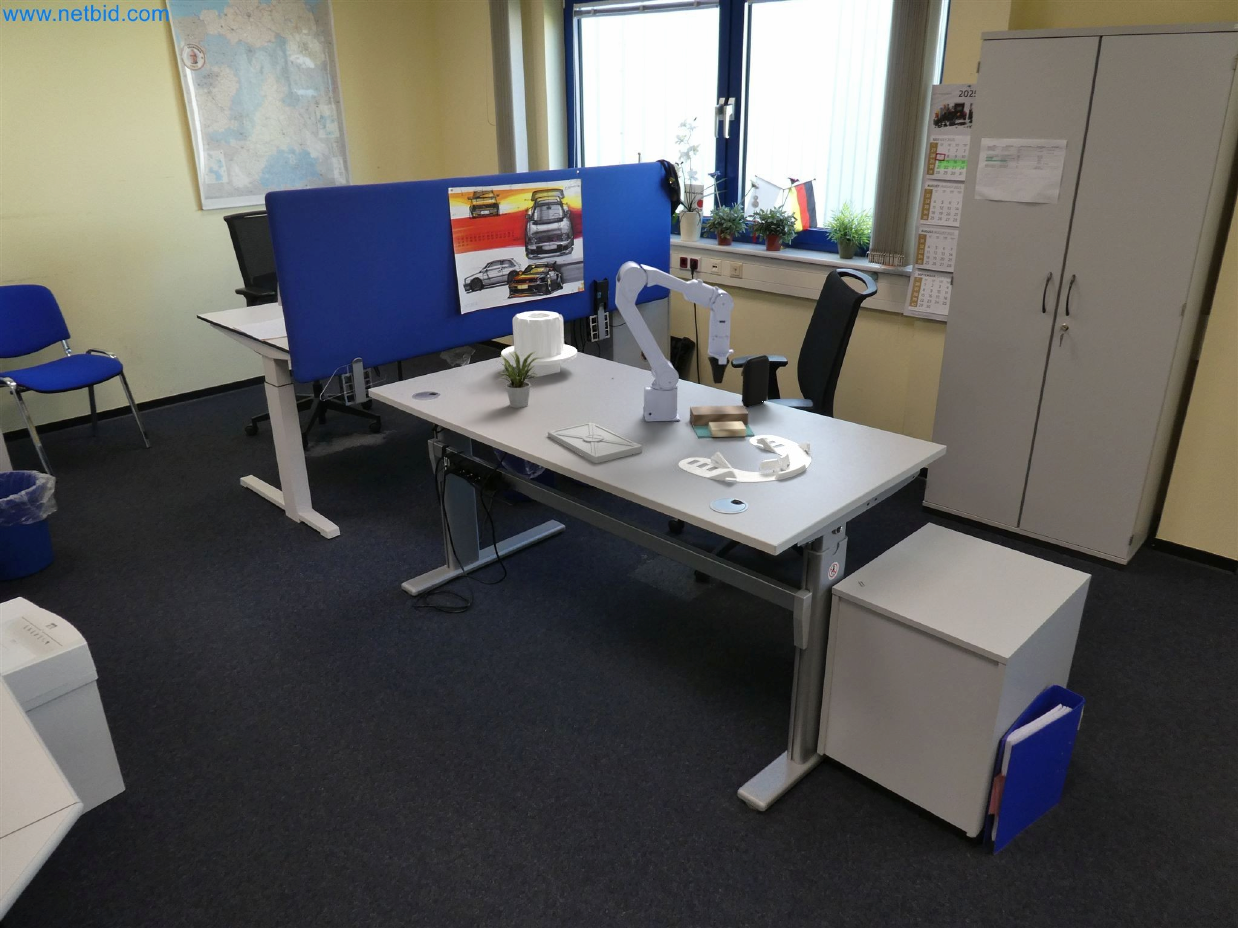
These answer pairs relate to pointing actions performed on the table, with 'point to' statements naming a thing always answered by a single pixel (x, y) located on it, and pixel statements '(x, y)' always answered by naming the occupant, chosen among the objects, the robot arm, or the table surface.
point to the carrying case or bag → (755, 381)
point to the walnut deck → (717, 414)
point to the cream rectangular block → (727, 429)
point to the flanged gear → (539, 342)
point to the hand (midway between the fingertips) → (717, 382)
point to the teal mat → (704, 432)
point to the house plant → (518, 381)
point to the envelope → (595, 442)
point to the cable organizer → (788, 453)
